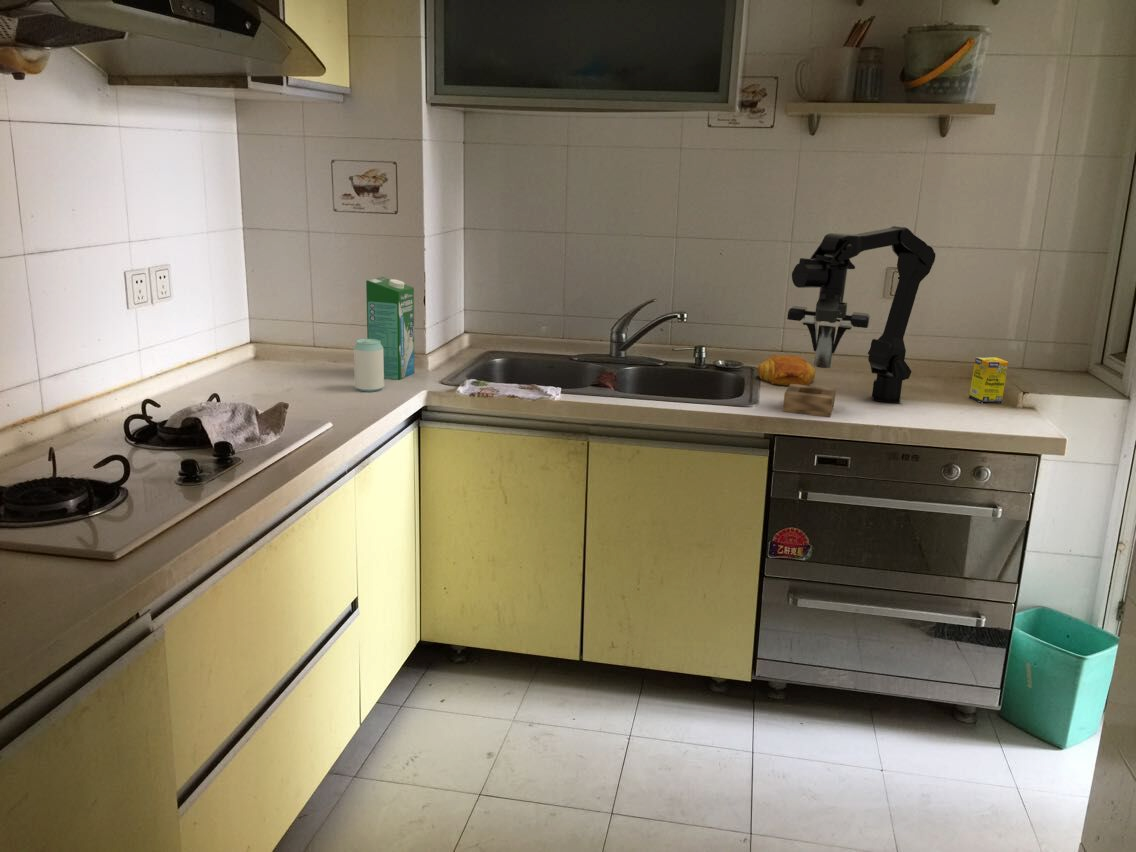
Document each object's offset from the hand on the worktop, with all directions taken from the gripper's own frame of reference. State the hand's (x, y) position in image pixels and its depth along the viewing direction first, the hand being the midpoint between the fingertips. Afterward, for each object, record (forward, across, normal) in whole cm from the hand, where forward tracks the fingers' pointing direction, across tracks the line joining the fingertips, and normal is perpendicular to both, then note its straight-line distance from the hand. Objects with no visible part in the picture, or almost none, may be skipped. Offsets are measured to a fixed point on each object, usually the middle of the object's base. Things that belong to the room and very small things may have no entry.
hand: (823, 352), depth 232 cm
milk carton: (+16, -107, -21) cm, 110 cm away
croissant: (+14, -11, +25) cm, 31 cm away
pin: (+4, 0, 0) cm, 4 cm away
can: (+16, -104, -37) cm, 111 cm away
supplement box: (+13, +40, +28) cm, 50 cm away
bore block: (+14, -2, -4) cm, 14 cm away
